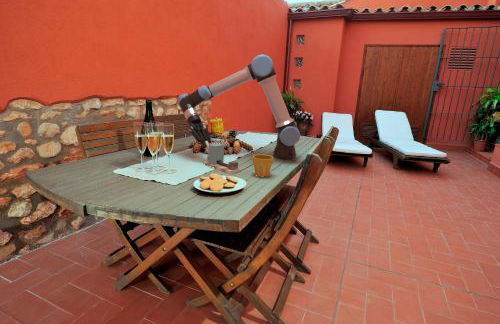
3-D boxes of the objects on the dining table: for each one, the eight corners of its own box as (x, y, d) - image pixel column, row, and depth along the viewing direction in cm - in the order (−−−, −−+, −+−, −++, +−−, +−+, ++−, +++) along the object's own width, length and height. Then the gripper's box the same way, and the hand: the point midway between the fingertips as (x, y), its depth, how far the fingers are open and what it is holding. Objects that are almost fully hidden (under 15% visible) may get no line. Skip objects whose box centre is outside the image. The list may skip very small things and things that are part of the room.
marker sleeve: (208, 162, 153) (208, 144, 151) (217, 160, 158) (218, 143, 156) (213, 164, 150) (214, 146, 148) (223, 162, 155) (224, 145, 152)
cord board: (203, 164, 156) (203, 155, 154) (214, 162, 161) (214, 153, 160) (229, 174, 141) (230, 164, 140) (241, 171, 147) (241, 162, 145)
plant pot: (247, 175, 140) (248, 156, 138) (257, 171, 149) (258, 153, 147) (266, 180, 136) (268, 160, 133) (275, 175, 145) (276, 156, 142)
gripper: (199, 121, 170) (216, 154, 163) (180, 122, 161) (197, 157, 154) (204, 113, 165) (222, 146, 158) (185, 114, 156) (203, 149, 149)
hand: (210, 151), depth 156 cm, fingers closed
